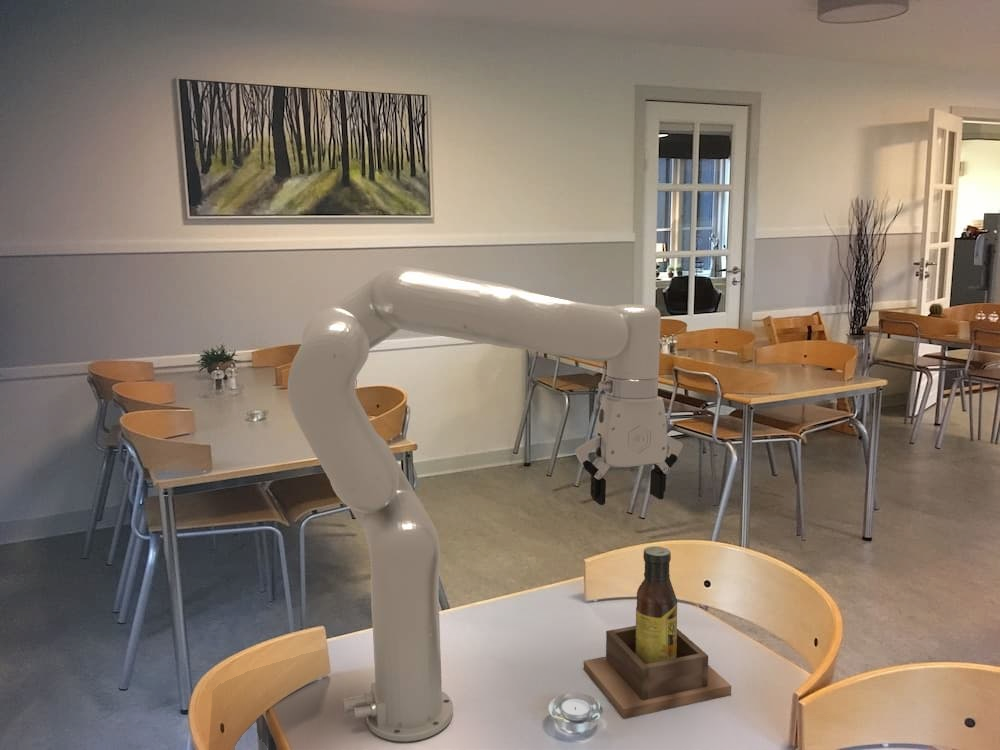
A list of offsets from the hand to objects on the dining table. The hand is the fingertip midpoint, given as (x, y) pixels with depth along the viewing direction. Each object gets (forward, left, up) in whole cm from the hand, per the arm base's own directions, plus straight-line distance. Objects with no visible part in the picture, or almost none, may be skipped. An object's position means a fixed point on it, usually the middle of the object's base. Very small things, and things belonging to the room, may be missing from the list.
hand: (627, 499), depth 118 cm
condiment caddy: (+4, -3, -29) cm, 30 cm away
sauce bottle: (+4, -3, -28) cm, 28 cm away
